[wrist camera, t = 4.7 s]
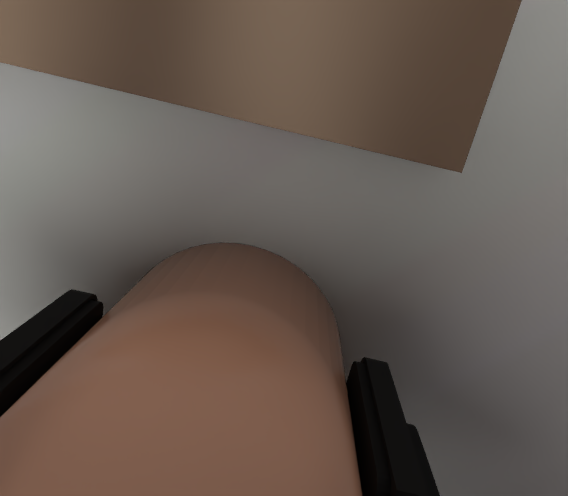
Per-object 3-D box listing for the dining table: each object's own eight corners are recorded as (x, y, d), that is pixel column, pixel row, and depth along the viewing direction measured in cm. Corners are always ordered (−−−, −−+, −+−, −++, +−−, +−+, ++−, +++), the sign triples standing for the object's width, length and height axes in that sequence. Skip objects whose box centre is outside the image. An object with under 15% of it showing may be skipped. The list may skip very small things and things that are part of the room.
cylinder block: (367, 273, 11) (492, 605, 4) (310, 460, 13) (312, 951, 5) (136, 218, 11) (-236, 440, 4) (109, 414, 13) (-179, 847, 5)
